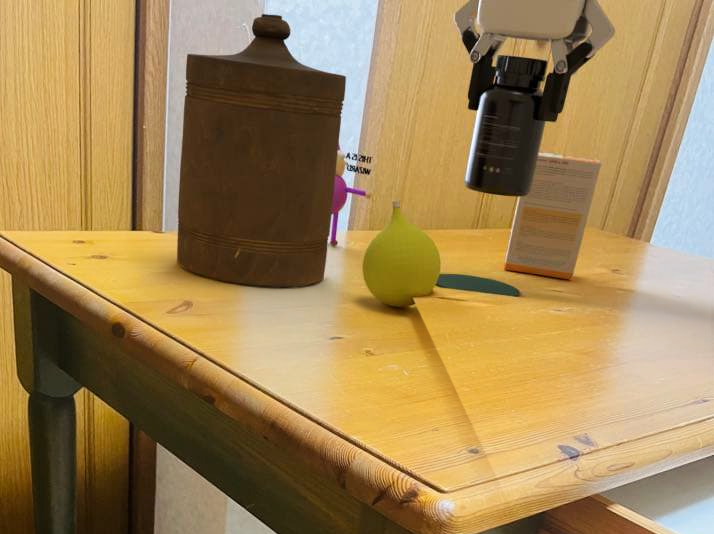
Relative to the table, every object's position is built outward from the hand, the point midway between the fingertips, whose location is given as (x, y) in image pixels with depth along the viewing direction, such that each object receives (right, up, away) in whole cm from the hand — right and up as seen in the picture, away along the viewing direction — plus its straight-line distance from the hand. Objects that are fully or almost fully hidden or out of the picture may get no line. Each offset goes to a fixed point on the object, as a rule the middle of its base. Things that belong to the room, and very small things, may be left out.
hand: (511, 114), depth 83 cm
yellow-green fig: (-12, -20, -4) cm, 24 cm away
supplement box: (+8, -9, +20) cm, 24 cm away
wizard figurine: (-18, -6, +19) cm, 27 cm away
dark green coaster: (-2, -15, +8) cm, 17 cm away
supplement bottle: (-1, -6, +4) cm, 7 cm away
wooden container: (-26, -15, +2) cm, 30 cm away
